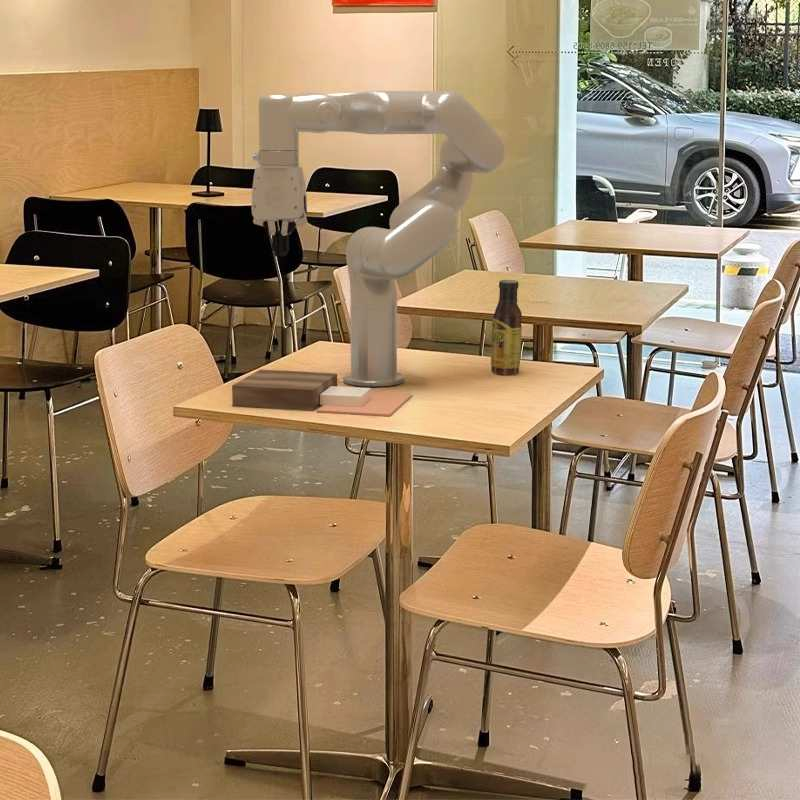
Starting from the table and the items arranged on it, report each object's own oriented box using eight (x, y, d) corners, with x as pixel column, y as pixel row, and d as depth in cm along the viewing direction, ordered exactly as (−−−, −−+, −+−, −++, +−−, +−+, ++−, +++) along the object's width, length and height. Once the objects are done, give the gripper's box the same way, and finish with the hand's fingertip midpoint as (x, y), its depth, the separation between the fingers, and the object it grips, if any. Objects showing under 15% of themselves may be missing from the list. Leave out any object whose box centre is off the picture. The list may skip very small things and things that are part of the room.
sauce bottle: (485, 371, 291) (487, 279, 287) (512, 369, 293) (514, 278, 289) (498, 377, 285) (500, 283, 281) (525, 375, 287) (527, 281, 283)
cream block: (331, 396, 265) (331, 386, 264) (371, 398, 263) (371, 388, 263) (320, 404, 257) (319, 394, 257) (361, 407, 256) (361, 396, 255)
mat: (343, 392, 270) (343, 390, 270) (412, 396, 267) (412, 394, 267) (316, 412, 253) (316, 410, 253) (389, 416, 250) (389, 414, 250)
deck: (260, 389, 273) (260, 369, 272) (337, 393, 269) (337, 373, 269) (232, 406, 258) (232, 385, 257) (313, 410, 254) (313, 389, 253)
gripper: (235, 160, 259) (237, 256, 263) (310, 161, 256) (311, 258, 260) (249, 158, 266) (251, 252, 270) (322, 159, 263) (323, 254, 267)
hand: (280, 255), depth 265 cm, fingers closed
